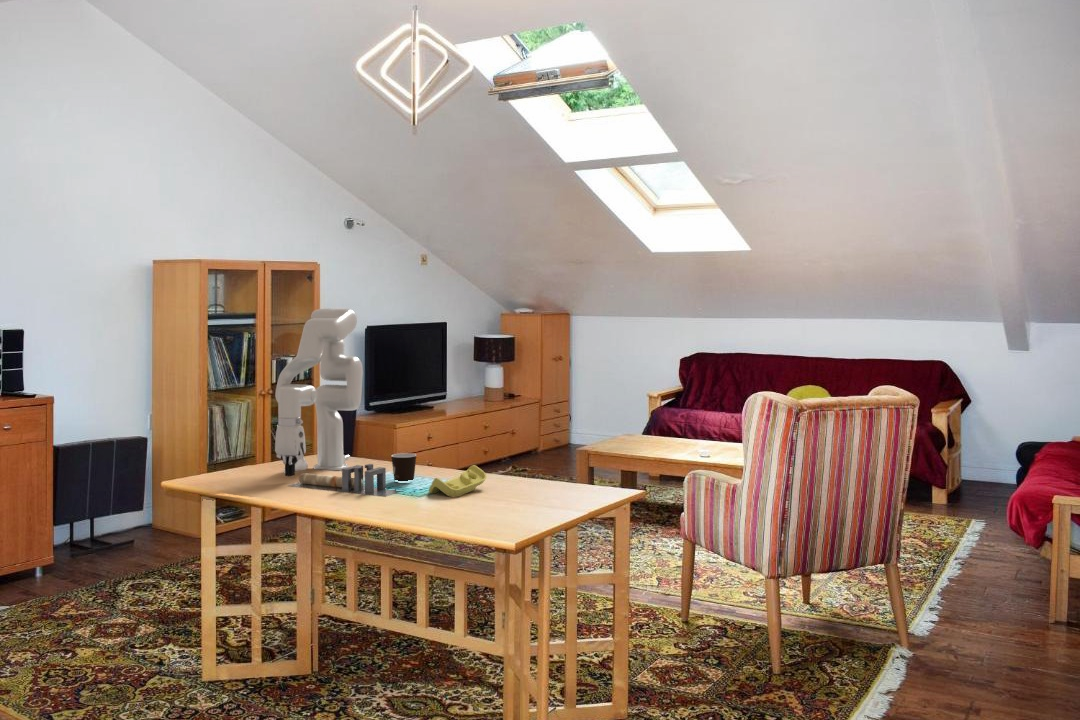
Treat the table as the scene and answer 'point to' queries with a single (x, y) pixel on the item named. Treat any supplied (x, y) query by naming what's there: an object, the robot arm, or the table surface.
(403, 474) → the coffee mug
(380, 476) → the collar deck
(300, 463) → the white creature statuette
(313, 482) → the dowel
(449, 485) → the plastic component
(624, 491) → the table surface
